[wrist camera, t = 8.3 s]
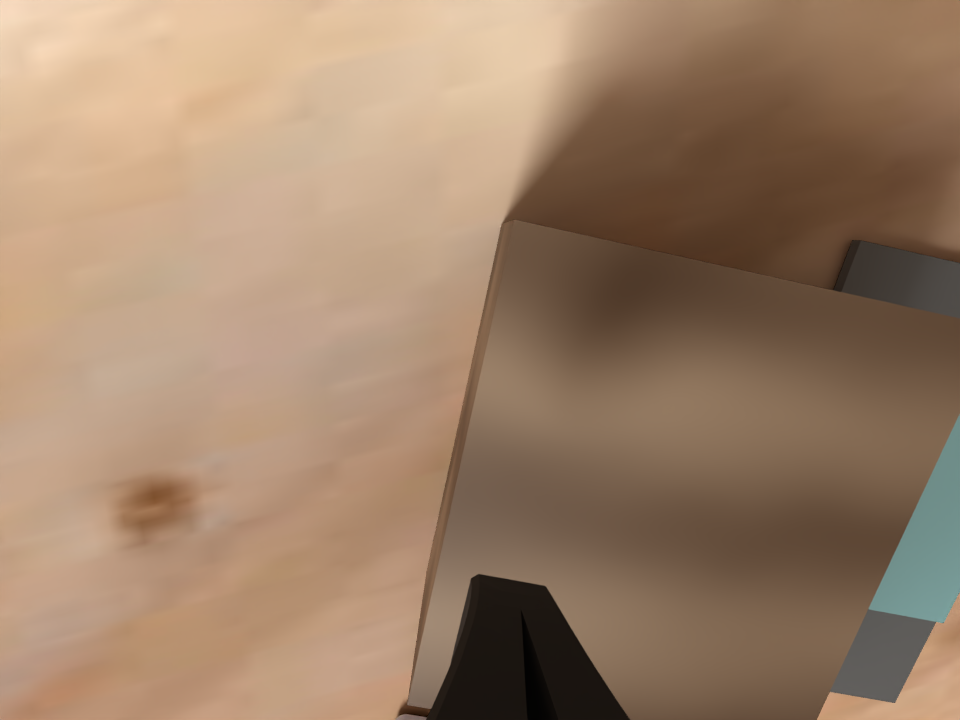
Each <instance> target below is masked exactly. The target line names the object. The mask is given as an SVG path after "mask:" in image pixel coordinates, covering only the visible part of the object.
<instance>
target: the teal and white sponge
mask: <svg viewBox="0 0 960 720" xmlns="http://www.w3.org/2000/svg"><path fill="white" fill-rule="evenodd" d="M959 592H960V414H959V416H958V418H957V420H956V423H955V425H954V427H953V429H952V431H951V433H950V435H949V438H948V440H947V442H946V444H945V446H944V448H943V450H942V453H941V455H940V457H939V459H938V461H937V463H936V465H935V468H934V470H933V472H932V474H931V476H930V478H929V480H928V483H927V485H926V487H925V489H924V491H923V493H922V495H921V497H920V500H919V502H918V504H917V506H916V508H915V510H914V512H913V515H912V517H911V519H910V521H909V523H908V525H907V527H906V530H905V532H904V534H903V536H902V538H901V540H900V542H899V545H898V547H897V549H896V551H895V553H894V555H893V557H892V559H891V562H890V564H889V566H888V568H887V570H886V572H885V574H884V577H883V579H882V581H881V583H880V585H879V587H878V589H877V592H876V594H875V596H874V598H873V600H872V602H871V604H870V607H869V609H870V610H875V611H880V612H886V613H891V614H897V615H902V616H907V617H913V618H918V619H924V620H929V621H934V622H940V623H944V621H945V619H946V617H947V615H948V613H949V612H950V610H951V608H952V606H953V604H954V602H955V600H956V598H957V596H958V594H959Z"/></svg>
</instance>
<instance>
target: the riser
mask: <svg viewBox="0 0 960 720" xmlns="http://www.w3.org/2000/svg"><path fill="white" fill-rule="evenodd" d="M959 414H960V318H956V317H951V316H947V315H942V314H938V313H933V312H929V311H924V310H920V309H915V308H911V307H906V306H902V305H897V304H893V303H888V302H884V301H879V300H875V299H870V298H866V297H861V296H857V295H852V294H848V293H843V292H839V291H834V290H830V289H825V288H821V287H816V286H812V285H807V284H803V283H798V282H794V281H789V280H785V279H780V278H776V277H771V276H767V275H762V274H758V273H753V272H749V271H744V270H740V269H735V268H731V267H726V266H722V265H717V264H713V263H708V262H704V261H699V260H695V259H690V258H686V257H681V256H677V255H672V254H668V253H663V252H659V251H654V250H650V249H645V248H641V247H636V246H632V245H627V244H623V243H618V242H614V241H609V240H605V239H600V238H596V237H591V236H587V235H582V234H578V233H573V232H569V231H564V230H560V229H555V228H551V227H546V226H542V225H537V224H533V223H528V222H524V221H519V220H512V221H509V222H506V223H503V224H502V225H501V230H500V235H499V239H498V244H497V249H496V253H495V258H494V262H493V267H492V272H491V276H490V281H489V286H488V290H487V295H486V299H485V304H484V309H483V313H482V318H481V323H480V327H479V332H478V337H477V341H476V346H475V350H474V355H473V360H472V364H471V369H470V374H469V378H468V383H467V387H466V392H465V397H464V401H463V406H462V411H461V415H460V420H459V424H458V429H457V434H456V438H455V443H454V448H453V452H452V457H451V462H450V466H449V471H448V475H447V480H446V485H445V489H444V494H443V499H442V503H441V508H440V512H439V517H438V522H437V526H436V531H435V536H434V540H433V545H432V549H431V554H430V559H429V563H428V568H427V573H426V580H425V587H424V593H423V600H422V607H421V614H420V621H419V628H418V634H417V641H416V648H415V655H414V662H413V669H412V675H411V682H410V689H409V696H408V703H407V705H410V706H416V707H422V708H428V709H431V708H432V706H433V704H434V701H435V699H436V697H437V695H438V692H439V690H440V688H441V686H442V683H443V681H444V679H445V677H446V674H447V672H448V670H449V667H450V665H451V659H452V655H453V651H454V647H455V642H456V638H457V634H458V630H459V626H460V622H461V617H462V613H463V609H464V605H465V601H466V597H467V593H468V588H469V584H470V580H471V578H472V577H474V576H476V575H477V574H483V575H488V576H494V577H499V578H505V579H510V580H516V581H521V582H527V583H533V584H538V585H544V586H546V587H547V589H548V590H549V592H550V593H551V595H552V597H553V598H554V600H555V602H556V603H557V605H558V607H559V608H560V610H561V612H562V613H563V615H564V617H565V619H566V620H567V622H568V624H569V625H570V627H571V629H572V630H573V632H574V634H575V635H576V637H577V638H578V640H579V642H580V643H581V645H582V647H583V648H584V650H585V652H586V653H587V655H588V656H589V658H590V660H591V661H592V663H593V664H594V666H595V667H596V669H597V670H598V672H599V674H600V675H601V677H602V678H603V680H604V681H605V683H606V684H607V686H608V687H609V689H610V690H611V692H612V693H613V695H614V696H615V698H616V700H617V701H618V703H619V704H620V705H621V707H622V708H623V710H624V711H625V713H626V714H627V716H628V717H629V719H630V720H817V718H818V716H819V713H820V711H821V709H822V707H823V705H824V703H825V701H826V698H827V696H828V694H829V692H830V690H831V688H832V686H833V684H834V681H835V679H836V677H837V675H838V673H839V671H840V669H841V666H842V664H843V662H844V660H845V658H846V656H847V654H848V651H849V649H850V647H851V645H852V643H853V641H854V639H855V636H856V634H857V632H858V630H859V628H860V626H861V624H862V621H863V619H864V617H865V615H866V613H867V611H868V609H869V607H870V604H871V602H872V600H873V598H874V596H875V594H876V592H877V589H878V587H879V585H880V583H881V581H882V579H883V577H884V574H885V572H886V570H887V568H888V566H889V564H890V562H891V559H892V557H893V555H894V553H895V551H896V549H897V547H898V545H899V542H900V540H901V538H902V536H903V534H904V532H905V530H906V527H907V525H908V523H909V521H910V519H911V517H912V515H913V512H914V510H915V508H916V506H917V504H918V502H919V500H920V497H921V495H922V493H923V491H924V489H925V487H926V485H927V483H928V480H929V478H930V476H931V474H932V472H933V470H934V468H935V465H936V463H937V461H938V459H939V457H940V455H941V453H942V450H943V448H944V446H945V444H946V442H947V440H948V438H949V435H950V433H951V431H952V429H953V427H954V425H955V423H956V420H957V418H958V416H959Z"/></svg>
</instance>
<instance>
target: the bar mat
mask: <svg viewBox="0 0 960 720" xmlns="http://www.w3.org/2000/svg"><path fill="white" fill-rule="evenodd" d="M834 291H839V292H843V293H848V294H852V295H857V296H861V297H866V298H870V299H875V300H879V301H884V302H888V303H893V304H897V305H902V306H906V307H911V308H915V309H920V310H924V311H929V312H933V313H938V314H942V315H947V316H951V317H956V318H960V263H957V262H953V261H948V260H944V259H940V258H935V257H931V256H926V255H922V254H918V253H913V252H909V251H905V250H900V249H896V248H891V247H887V246H883V245H878V244H874V243H870V242H865V241H860V240H852V243H851V246H850V248H849V251H848V254H847V256H846V259H845V261H844V264H843V267H842V269H841V272H840V275H839V277H838V280H837V282H836V285H835V288H834ZM935 623H936V622H934V621H929V620H924V619H918V618H913V617H907V616H902V615H897V614H891V613H886V612H880V611H875V610H870V609H868V611H867V613H866V615H865V617H864V619H863V621H862V624H861V626H860V628H859V630H858V632H857V634H856V636H855V639H854V641H853V643H852V645H851V647H850V649H849V651H848V654H847V656H846V658H845V660H844V662H843V664H842V666H841V669H840V671H839V673H838V675H837V677H836V679H835V681H834V684H833V686H832V688H831V690H830V692H835V693H840V694H846V695H852V696H858V697H863V698H869V699H875V700H881V701H886V702H892V703H895V702H896V700H897V698H898V696H899V694H900V692H901V690H902V688H903V686H904V684H905V682H906V680H907V678H908V676H909V674H910V672H911V670H912V668H913V666H914V664H915V662H916V660H917V658H918V656H919V654H920V653H921V651H922V649H923V647H924V645H925V643H926V641H927V639H928V637H929V635H930V633H931V631H932V629H933V627H934V625H935Z"/></svg>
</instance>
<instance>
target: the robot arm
mask: <svg viewBox="0 0 960 720" xmlns="http://www.w3.org/2000/svg"><path fill="white" fill-rule="evenodd" d="M396 720H630V719H629V717H628V716H627V714H626V713H625V711H624V710H623V708H622V707H621V705H620V704H619V703H618V701H617V700H616V698H615V696H614V695H613V693H612V692H611V690H610V689H609V687H608V686H607V684H606V683H605V681H604V680H603V678H602V677H601V675H600V674H599V672H598V670H597V669H596V667H595V666H594V664H593V663H592V661H591V660H590V658H589V656H588V655H587V653H586V652H585V650H584V648H583V647H582V645H581V643H580V642H579V640H578V638H577V637H576V635H575V634H574V632H573V630H572V629H571V627H570V625H569V624H568V622H567V620H566V619H565V617H564V615H563V613H562V612H561V610H560V608H559V607H558V605H557V603H556V602H555V600H554V598H553V597H552V595H551V593H550V592H549V590H548V589H547V587H546V586H544V585H538V584H533V583H527V582H521V581H516V580H510V579H505V578H499V577H494V576H488V575H483V574H477V575H476V576H474V577H472V578H471V580H470V584H469V588H468V593H467V597H466V601H465V605H464V609H463V613H462V617H461V622H460V626H459V630H458V634H457V638H456V642H455V647H454V651H453V655H452V659H451V665H450V667H449V670H448V672H447V674H446V677H445V679H444V681H443V683H442V686H441V688H440V690H439V692H438V695H437V697H436V699H435V701H434V704H433V706H432V708H431V710H430V712H429V715H428V717H422V716H416V715H410V714H403V715H400V716H398V717H397V718H396Z"/></svg>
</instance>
